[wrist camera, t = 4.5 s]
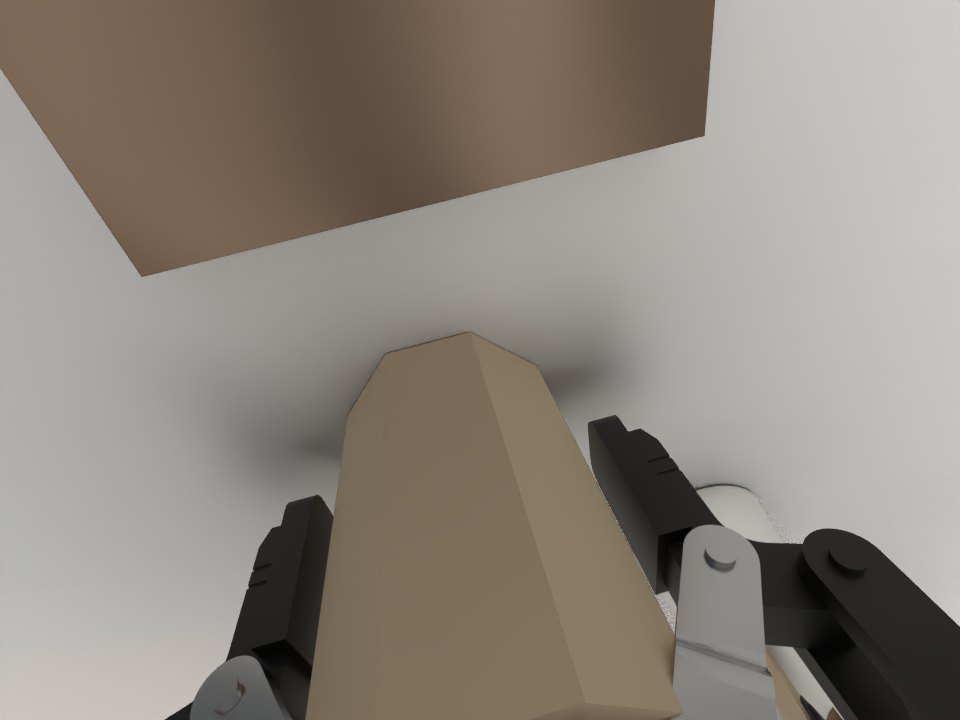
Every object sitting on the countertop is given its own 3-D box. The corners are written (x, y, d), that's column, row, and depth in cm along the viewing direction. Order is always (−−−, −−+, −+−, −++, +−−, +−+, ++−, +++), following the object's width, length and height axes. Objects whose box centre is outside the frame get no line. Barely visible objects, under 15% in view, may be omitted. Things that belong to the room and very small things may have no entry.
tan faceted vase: (529, 316, 13) (730, 659, 5) (551, 459, 16) (694, 797, 8) (324, 369, 12) (218, 809, 5) (390, 503, 16) (387, 888, 8)
